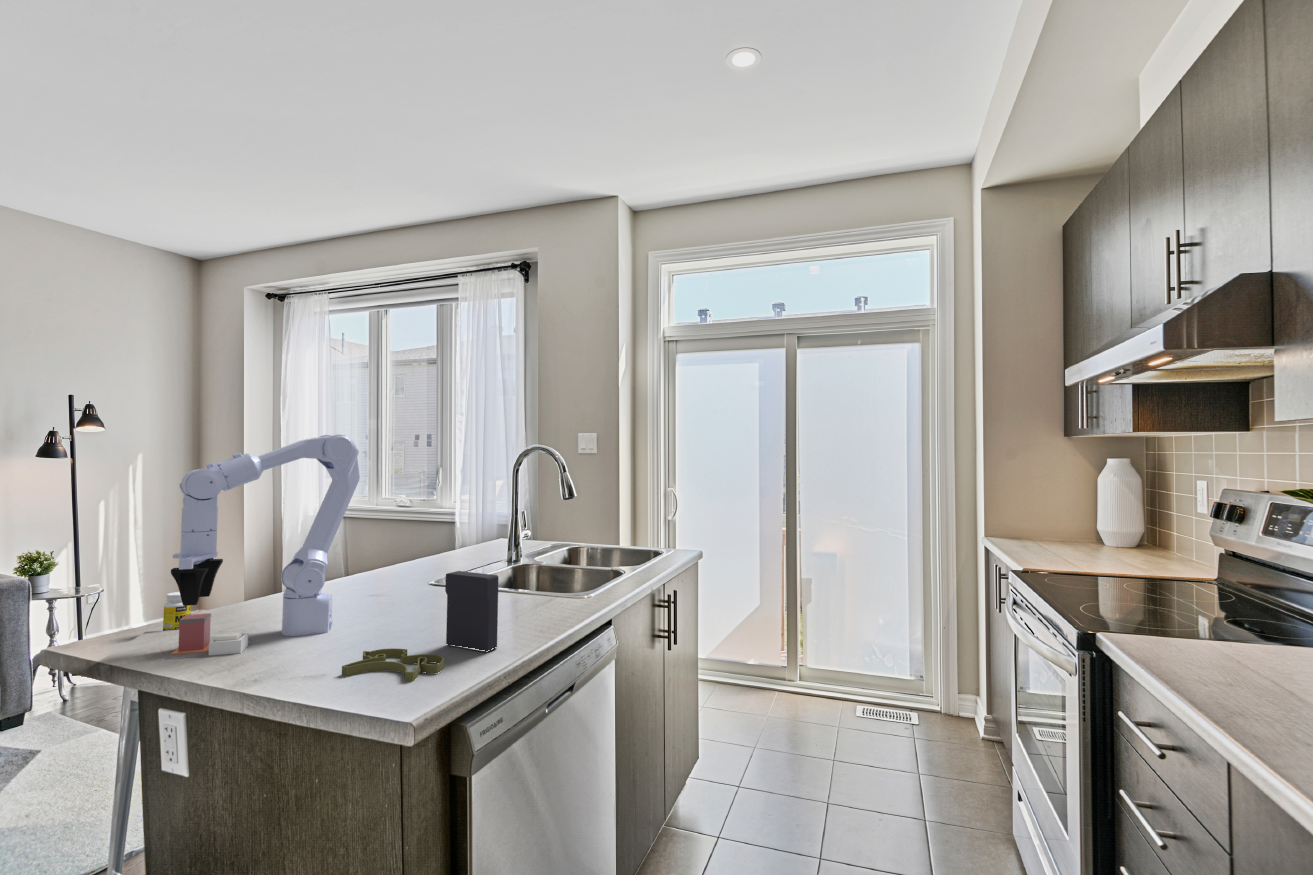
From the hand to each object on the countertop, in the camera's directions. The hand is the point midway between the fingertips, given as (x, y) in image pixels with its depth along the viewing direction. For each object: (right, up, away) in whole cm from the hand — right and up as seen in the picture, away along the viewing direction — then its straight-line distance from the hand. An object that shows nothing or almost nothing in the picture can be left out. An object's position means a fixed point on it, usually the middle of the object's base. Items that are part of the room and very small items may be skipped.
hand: (196, 600), depth 123 cm
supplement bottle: (-15, -11, +15) cm, 24 cm away
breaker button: (+7, -9, -1) cm, 12 cm away
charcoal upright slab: (+52, -12, +7) cm, 53 cm away
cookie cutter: (+42, -11, -7) cm, 44 cm away
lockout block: (0, -9, -1) cm, 9 cm away
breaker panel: (+3, -10, -1) cm, 11 cm away
